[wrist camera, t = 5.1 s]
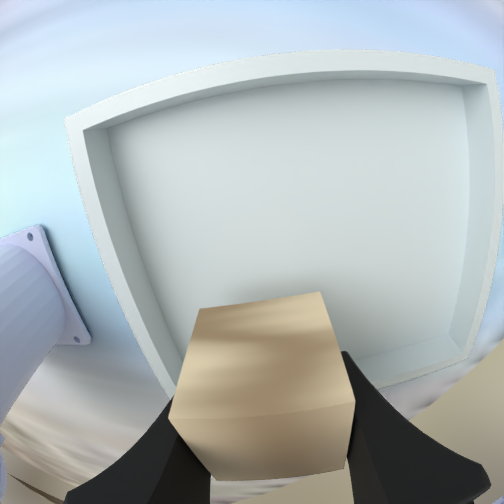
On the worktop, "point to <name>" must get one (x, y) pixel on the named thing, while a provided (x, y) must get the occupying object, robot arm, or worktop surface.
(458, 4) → the worktop surface
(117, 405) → the worktop surface
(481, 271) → the grey tray
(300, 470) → the oak block
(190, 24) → the worktop surface
